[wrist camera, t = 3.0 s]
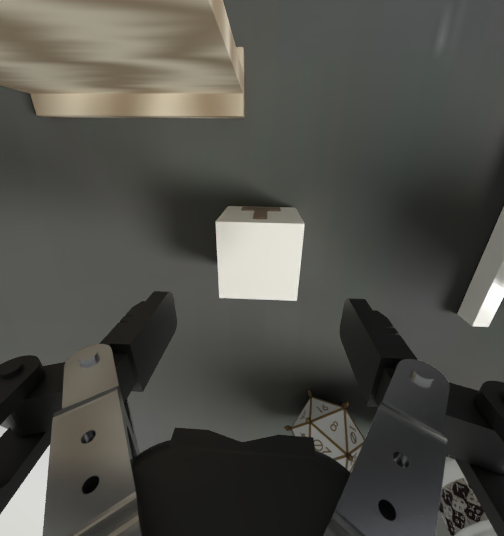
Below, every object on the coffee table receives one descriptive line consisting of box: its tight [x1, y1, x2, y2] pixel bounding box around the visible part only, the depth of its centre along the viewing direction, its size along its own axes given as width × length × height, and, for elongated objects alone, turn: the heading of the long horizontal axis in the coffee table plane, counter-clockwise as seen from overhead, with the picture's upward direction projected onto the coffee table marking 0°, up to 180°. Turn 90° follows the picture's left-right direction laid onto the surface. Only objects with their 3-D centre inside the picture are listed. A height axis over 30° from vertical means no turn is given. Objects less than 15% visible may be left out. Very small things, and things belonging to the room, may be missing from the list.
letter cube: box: [215, 206, 305, 301], centre depth 20 cm, size 6×6×6 cm
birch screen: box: [0, 0, 244, 118], centre depth 12 cm, size 16×4×15 cm, turn 89°
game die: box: [284, 390, 365, 472], centre depth 28 cm, size 9×8×10 cm
